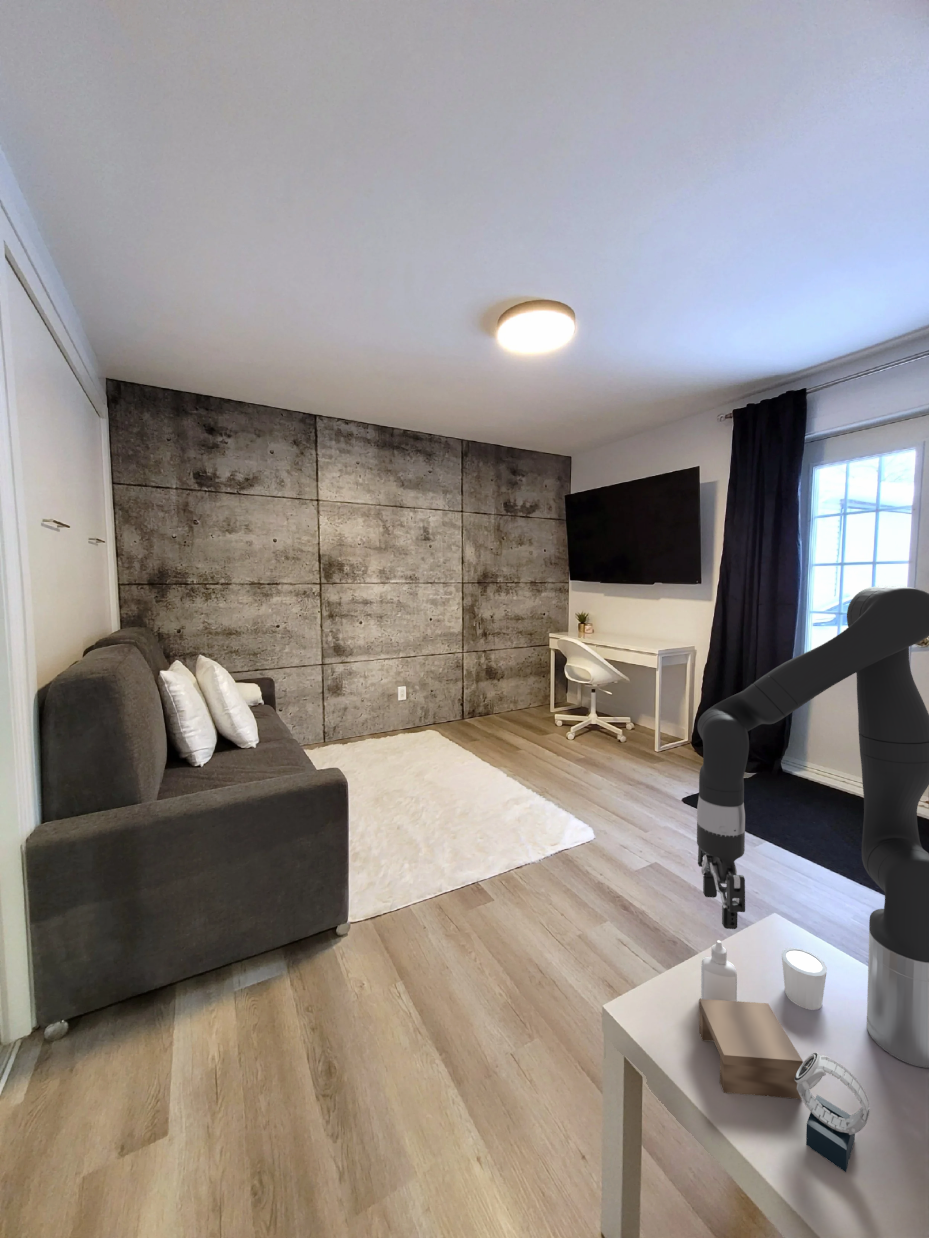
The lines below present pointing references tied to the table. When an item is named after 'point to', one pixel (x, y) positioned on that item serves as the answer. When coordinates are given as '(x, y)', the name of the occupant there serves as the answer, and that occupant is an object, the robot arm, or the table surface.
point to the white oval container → (804, 978)
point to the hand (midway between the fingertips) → (719, 910)
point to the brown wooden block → (750, 1048)
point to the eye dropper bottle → (718, 976)
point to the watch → (830, 1111)
